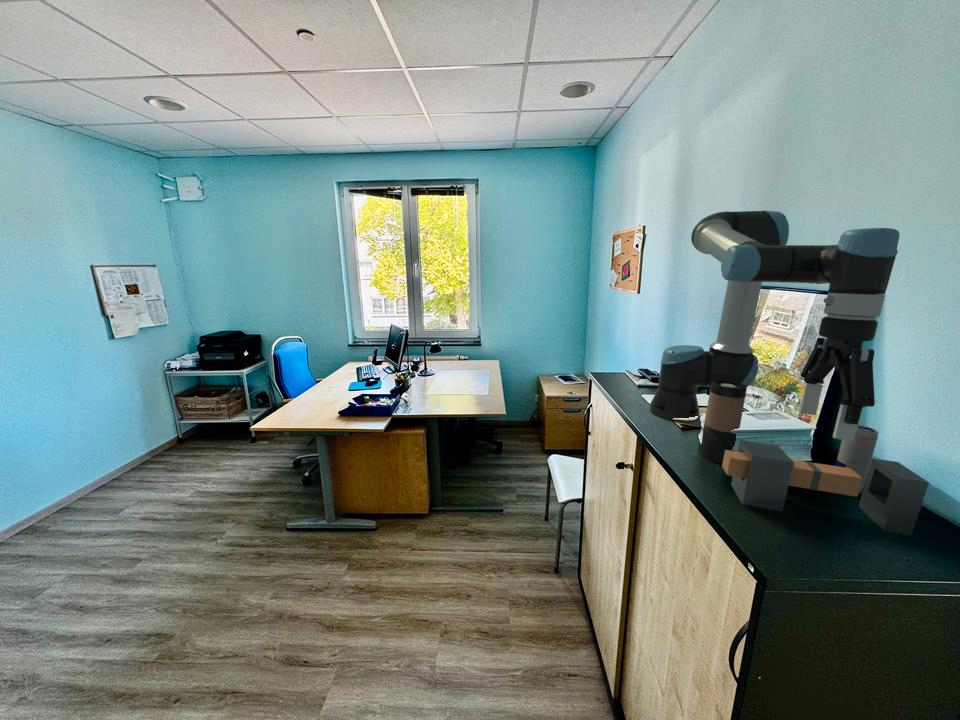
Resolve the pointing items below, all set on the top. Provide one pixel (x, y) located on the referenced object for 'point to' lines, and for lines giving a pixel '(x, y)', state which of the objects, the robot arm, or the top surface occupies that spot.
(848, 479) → the orange bar
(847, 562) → the top surface
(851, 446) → the beverage can
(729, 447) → the travel mug
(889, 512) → the socket
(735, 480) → the sleeve
